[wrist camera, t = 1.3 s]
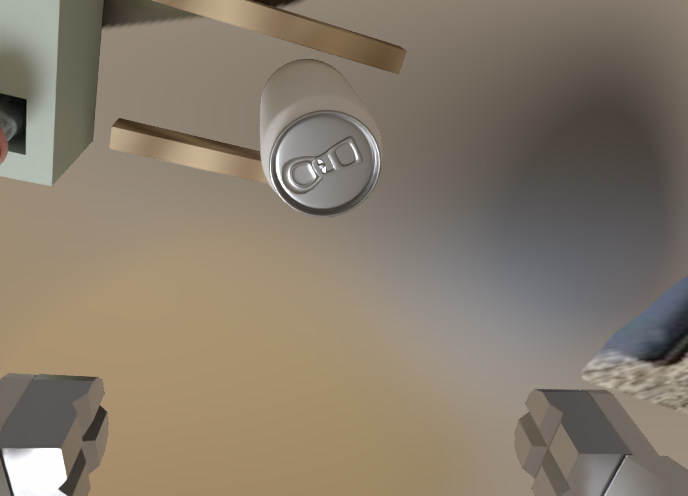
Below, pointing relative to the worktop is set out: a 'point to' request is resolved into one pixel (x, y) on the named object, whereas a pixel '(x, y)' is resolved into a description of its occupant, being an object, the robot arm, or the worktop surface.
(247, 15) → the rails
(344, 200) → the can
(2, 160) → the plunger
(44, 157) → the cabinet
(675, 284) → the worktop surface
